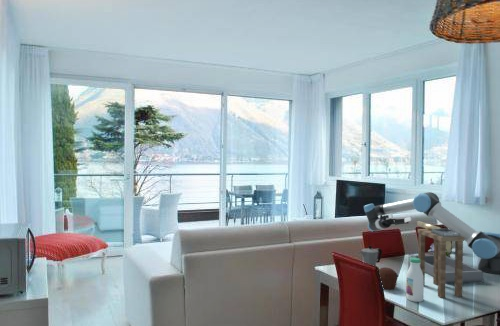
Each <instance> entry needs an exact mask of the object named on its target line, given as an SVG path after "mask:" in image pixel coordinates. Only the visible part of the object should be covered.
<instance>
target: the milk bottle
mask: <svg viewBox="0 0 500 326" xmlns="http://www.w3.org/2000/svg"><path fill="white" fill-rule="evenodd" d="M409 261H410V262H409V263H410V266H409V268H408V270H407V272H406V283H405V285H406V287H405V288H406V289H405V291H406V292H405V293H406V294H405V295H406V300H408V301H411V302H416V303H420V302H421V303H422V302H423V300H424V293H425V292H424V286H425V285H424V278H423V273H422V270H421V268H420V259H419V258H411V257H410V258H409Z"/></svg>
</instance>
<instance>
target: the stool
mask: <svg viewBox="0 0 500 326" xmlns="http://www.w3.org/2000/svg"><path fill="white" fill-rule="evenodd" d="M417 234H418V237H417V238H418V239H417V241H418V242H417V245H418V246H417V248H418V249H417V256H418V258H419V259H420V268H421V270H422V273H423V278H424V286H425V279H426V278H425V274H426V273H425V256H426V237H427V238H431V239H433V244H434V272H433V277H432V278H433V279H432V281H433V282H432V283H433V284H434V285H435V286H437V297H438V298H441V299H445V298H446V284H445V279H446V241H452V242H455V244H454V246H455V249H454V250H455V251H454V260H455V283H454V296H455V297H456V298H463V283H462V276H463V263H464V261H463V260H464V241H465V240H464V237H463V236H460V237H442V236H439V235H436V234H433V233H431V230H429V229H426V228H417Z"/></svg>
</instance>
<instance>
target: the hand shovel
mask: <svg viewBox="0 0 500 326" xmlns="http://www.w3.org/2000/svg"><path fill="white" fill-rule="evenodd" d="M416 225H417V226H418V227H420V228H422V229H429V230H431V233H433V234H436V235H439V236H442V237H460V232H457V231H453V230H450V229H449V228H442V227H440V226H437V225H434V224H431V223H427V222H424V221H421V220H418V221H416Z"/></svg>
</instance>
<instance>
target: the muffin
mask: <svg viewBox="0 0 500 326" xmlns="http://www.w3.org/2000/svg"><path fill="white" fill-rule="evenodd" d="M378 270H379V273H380V277H381V281H382V285H383V288H384V289H383V290H387V291H393V290H395V289H396V286H397V282H398V281H397V280H398V278H399V275H398V274H397V272H396V271H395V270H394V269H393V268H390V267H380V268H378Z"/></svg>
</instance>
